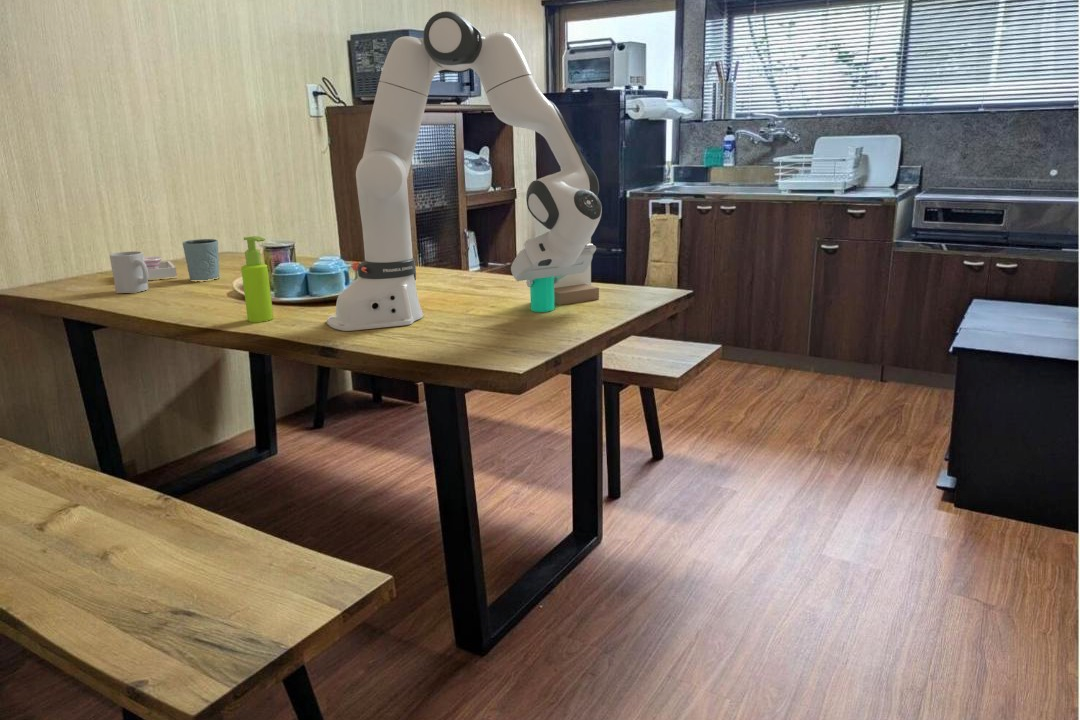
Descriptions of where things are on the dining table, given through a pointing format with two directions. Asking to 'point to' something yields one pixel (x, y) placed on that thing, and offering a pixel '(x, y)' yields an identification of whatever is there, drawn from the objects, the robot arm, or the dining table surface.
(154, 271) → the tray
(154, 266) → the teacup
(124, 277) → the mug
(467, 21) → the robot arm
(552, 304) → the candle
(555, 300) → the tabletop board
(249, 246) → the soap dispenser
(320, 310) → the dining table surface
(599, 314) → the dining table surface
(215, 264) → the blue embossed cup
